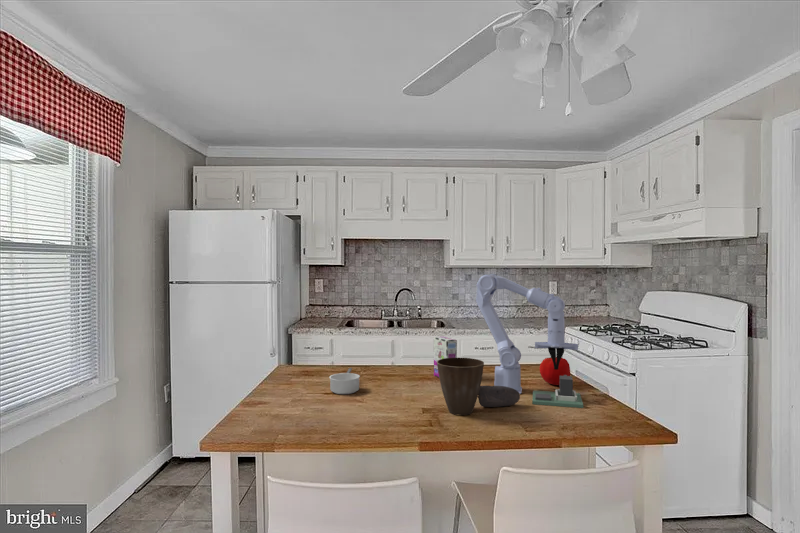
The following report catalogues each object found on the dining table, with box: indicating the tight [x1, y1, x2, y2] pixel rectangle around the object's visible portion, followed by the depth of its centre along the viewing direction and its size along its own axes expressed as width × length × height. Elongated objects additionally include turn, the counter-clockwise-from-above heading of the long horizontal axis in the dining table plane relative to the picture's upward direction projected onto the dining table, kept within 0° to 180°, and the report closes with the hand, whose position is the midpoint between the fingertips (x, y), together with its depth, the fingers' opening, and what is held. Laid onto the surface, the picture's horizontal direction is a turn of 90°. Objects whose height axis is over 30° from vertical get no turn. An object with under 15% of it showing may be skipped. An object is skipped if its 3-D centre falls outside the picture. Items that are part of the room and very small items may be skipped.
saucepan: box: [328, 367, 361, 395], centre depth 183 cm, size 12×20×6 cm, turn 177°
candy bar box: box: [433, 336, 458, 378], centre depth 198 cm, size 11×5×16 cm, turn 25°
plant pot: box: [437, 357, 485, 416], centre depth 154 cm, size 15×15×16 cm
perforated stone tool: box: [477, 385, 521, 408], centre depth 160 cm, size 15×5×7 cm, turn 96°
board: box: [531, 388, 584, 409], centre depth 166 cm, size 16×14×2 cm
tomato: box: [539, 356, 571, 386], centre depth 187 cm, size 12×12×11 cm
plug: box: [559, 375, 574, 396], centre depth 166 cm, size 4×6×7 cm, turn 164°
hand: (556, 369), depth 172 cm, fingers closed
